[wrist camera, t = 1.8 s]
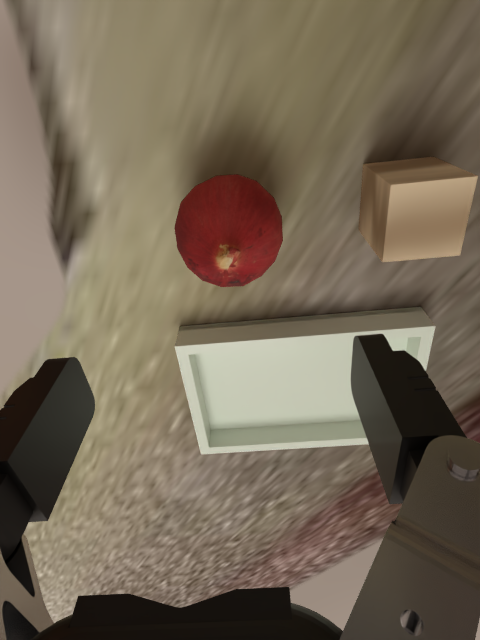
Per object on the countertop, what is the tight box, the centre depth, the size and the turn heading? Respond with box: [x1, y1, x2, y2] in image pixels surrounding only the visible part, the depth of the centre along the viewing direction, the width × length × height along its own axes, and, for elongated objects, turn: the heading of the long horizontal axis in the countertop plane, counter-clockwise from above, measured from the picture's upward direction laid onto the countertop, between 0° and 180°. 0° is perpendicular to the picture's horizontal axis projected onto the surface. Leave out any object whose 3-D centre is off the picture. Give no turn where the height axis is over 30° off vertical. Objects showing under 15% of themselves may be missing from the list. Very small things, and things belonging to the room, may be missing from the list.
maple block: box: [359, 157, 478, 262], centre depth 21 cm, size 4×4×5 cm
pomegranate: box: [175, 174, 283, 287], centre depth 20 cm, size 6×6×8 cm
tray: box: [175, 307, 435, 454], centre depth 30 cm, size 12×18×2 cm, turn 96°
